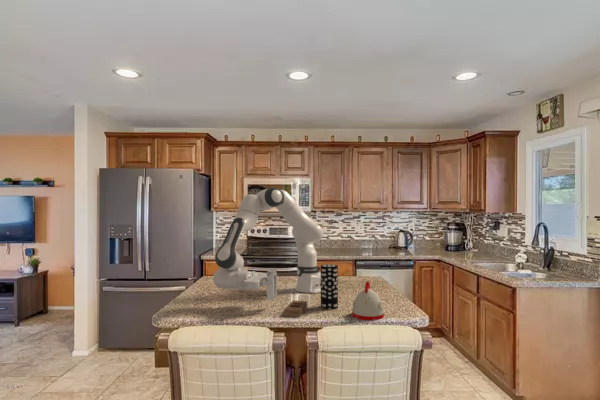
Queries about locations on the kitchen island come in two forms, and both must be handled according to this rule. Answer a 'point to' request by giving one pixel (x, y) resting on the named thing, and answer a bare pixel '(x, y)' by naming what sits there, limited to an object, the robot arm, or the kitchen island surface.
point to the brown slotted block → (295, 308)
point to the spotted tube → (329, 286)
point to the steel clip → (272, 288)
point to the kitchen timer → (367, 305)
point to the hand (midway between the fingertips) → (273, 281)
